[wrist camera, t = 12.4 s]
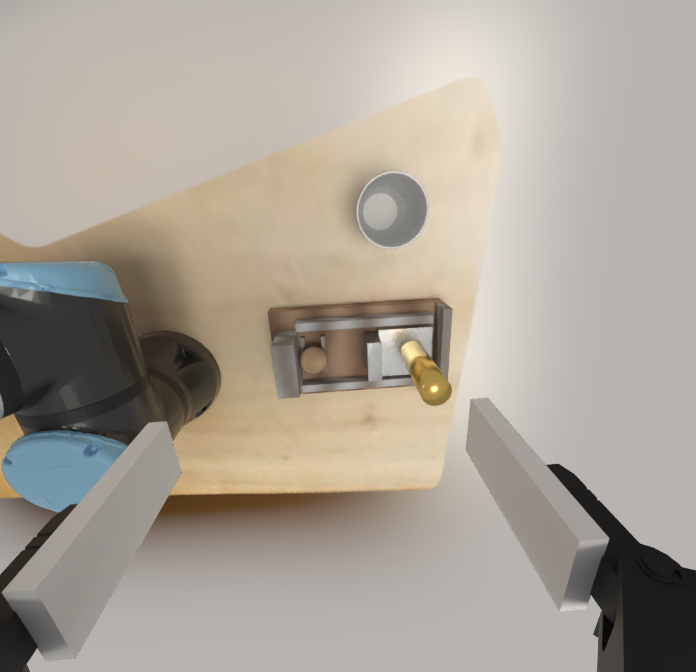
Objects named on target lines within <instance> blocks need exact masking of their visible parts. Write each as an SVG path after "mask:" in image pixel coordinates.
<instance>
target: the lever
mask: <svg viewBox="0 0 696 672" xmlns="http://www.w3.org/2000/svg"><path fill="white" fill-rule="evenodd" d="M432 330H433V327H432V326H431V324H430V323H427V324H412V325H397V326H381V327H377V332H366V333H364V342H365V369H366V373H367V377H368V381H382V376H393V375H408V374H410V375H411V377H412V379H413V381H414V383H415V385H416V387H417V389H418V391H419V393H420V395H421V397H422V399H423V401H424V402H425V403H427V404H428V405H432V406H437V405H441V404H443V403H445V402H446V401H447V400H448V399H449V398H450V396H451V392H452V389H451V385H450V384H449V382H448V381H447V380H446V378H445V377H444V375H443V374H442V373H441V371H440V370H439V368H438V367H437V366H436V364H435V363H434V361H433V360H432V358H431V353H432Z"/></svg>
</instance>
